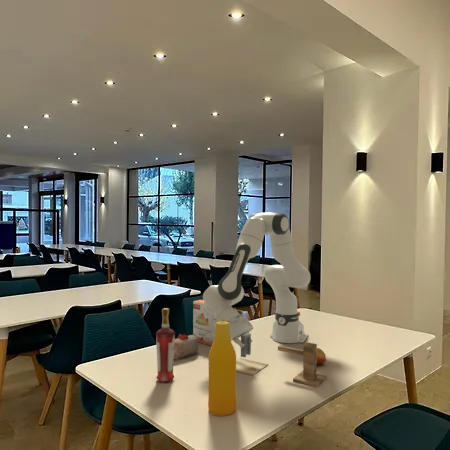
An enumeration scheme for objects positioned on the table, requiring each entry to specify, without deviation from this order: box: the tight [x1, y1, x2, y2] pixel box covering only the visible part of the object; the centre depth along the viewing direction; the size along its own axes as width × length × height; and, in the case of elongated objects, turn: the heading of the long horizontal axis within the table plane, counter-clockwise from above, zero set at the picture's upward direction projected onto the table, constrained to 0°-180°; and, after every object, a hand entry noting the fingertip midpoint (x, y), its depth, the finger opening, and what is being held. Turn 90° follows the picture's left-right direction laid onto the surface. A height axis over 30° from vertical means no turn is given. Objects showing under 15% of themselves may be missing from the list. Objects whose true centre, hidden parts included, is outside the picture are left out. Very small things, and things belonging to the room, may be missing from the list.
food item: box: [174, 333, 199, 361], centre depth 186 cm, size 14×8×10 cm, turn 133°
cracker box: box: [192, 299, 218, 347], centre depth 206 cm, size 14×6×21 cm, turn 47°
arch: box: [240, 332, 252, 358], centre depth 172 cm, size 5×2×9 cm, turn 147°
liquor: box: [155, 307, 176, 384], centre depth 157 cm, size 7×7×28 cm
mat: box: [236, 357, 269, 376], centre depth 172 cm, size 14×14×1 cm
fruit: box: [317, 347, 327, 367], centre depth 176 cm, size 8×8×8 cm
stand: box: [277, 341, 327, 388], centre depth 161 cm, size 10×19×14 cm, turn 57°
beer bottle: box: [207, 321, 237, 417], centre depth 133 cm, size 9×9×29 cm
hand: (247, 344), depth 171 cm, fingers closed on arch, 5 cm apart
